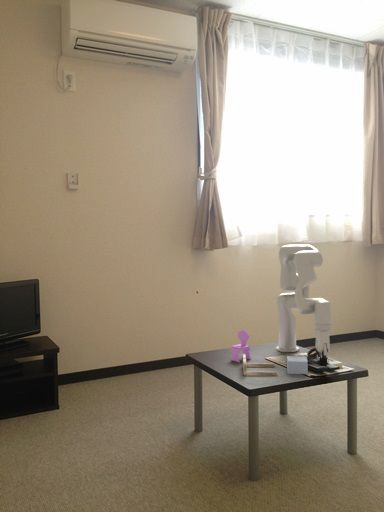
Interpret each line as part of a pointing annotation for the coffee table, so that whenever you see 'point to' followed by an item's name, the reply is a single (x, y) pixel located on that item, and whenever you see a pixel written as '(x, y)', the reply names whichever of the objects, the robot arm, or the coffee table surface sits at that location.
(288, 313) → the robot arm
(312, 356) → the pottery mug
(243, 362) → the wooden rack
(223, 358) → the coffee table surface
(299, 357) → the carton
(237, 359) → the toy chair
